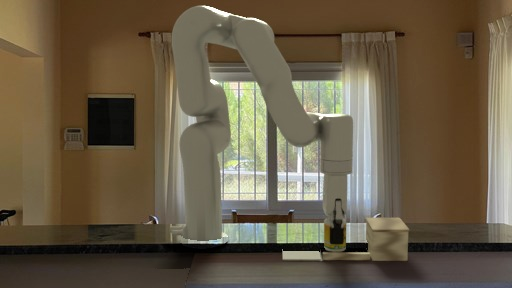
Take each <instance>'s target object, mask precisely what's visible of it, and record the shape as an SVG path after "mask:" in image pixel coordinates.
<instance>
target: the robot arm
mask: <svg viewBox="0 0 512 288" xmlns="http://www.w3.org/2000/svg"><path fill="white" fill-rule="evenodd" d="M206 43H207V44H214V45H219V46H223V47H227V48H230V49H234V50H237V52H238V54H239V55H240V57H241V58H242V60H243V62H244V63H245V65H246V67H247V68H248V70H249V72H250V73H251V75H252V77H253V79H254V80H255V81H256V83H257V85H258V87H259V89H260V94H261V96H262V97H263V101H264V104H265V106H266V108H267V111H268V113H269V116H271V119H272V120H273V122H274V123H275V125H276V127H277V129H278V130H279V132H280V134H281V135H282V136H283V138H284V140H286V142H287V143H289V144H290V145H291V146H293V147H296V148H305V147H307V146H310V145H311V144H313V143H315V142H320V155H319V157H320V160H319V161H320V167H319V168H320V170H319V172H320V173H321V174H323V181H322V182H323V184H322V185H323V187H322V188H323V189H322V209H323V213H324V215H325V216H327V217H328V215H331V227H330V244H343V243H344V227H343V218H344V217H345V216H347V211H348V184H349V183H348V175H351V174H353V157H354V156H353V153H354V151H353V149H354V148H353V147H354V120H353V117H352V115H350V114H347V113H345V114H344V113H329V114H328V113H327V114H326V113H325V114H323V113H317V112H311V111H310V112H308V111H306V110H305V108H304V106H303V104H302V103H301V101H300V99H299V98H298V96H297V94H296V91H295V89H294V85H293V81H292V80H293V77H292V76H293V75H292V71H291V69H290V67H289V65H288V63H287V61H286V59H285V58H284V56H283V55H282V53H281V51H280V49H279V47H278V46H277V45H276V43H275V34H274V31H273V28H272V27H271V26H270V25H269V24H268V23H267V22H265V21H263V20H260V19H257V18H254V17H247V18H246V17H243V16H239V15H234V14H232V13H228V12H225V11H222V10H219V9H216V8H214V7H210V6H206V5H196V6H192V7H190V8H188V9H186V10H185V11H183V13H181V14H180V15H179V17H178V18H177V19H176V21H175V23H174V25H173V28H172V31H171V49H172V55H173V62H174V69H175V70H174V72H175V78H176V87H177V95H178V103H179V106H180V109H181V111H182V112H183V113H184V114H185V115H187V116H189V117H192V118H195V119H196V122H194V123H191V124H190V125H188V126H187V127H186V128H185V129H183V131H182V132H181V135H180V138H179V151H180V152H179V154H180V158H181V162H182V170H183V172H182V173H183V189H184V191H183V192H184V194H183V195H184V215H185V216H184V217H185V224H182V225H181V226H177V225H170V226H169V234H171V235H172V236H181V237H182V236H183V238H185V239H190V240H197V241H209V240H217V239H221V238H222V237H228V238H229V236H228V234H227V233H226V232H223V211H222V205H223V204H222V177H221V168H220V167H221V166H220V162H219V157H218V154H220V153H223V152H224V151H225V150H226V149H228V146H229V145H230V143H231V138H232V133H231V132H232V131H231V122H230V114H229V106H228V105H229V104H228V97H227V93H226V91H225V89H224V87H223V86H222V85H221V84H220V83H219V82H218V81H216V80H214V79H211V73H210V72H211V71H210V62H209V58H208V55H207V52H206V49H205V46H206ZM333 212H336V215H333ZM334 217H336V219H334Z"/></svg>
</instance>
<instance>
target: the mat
mask: <svg viewBox="0 0 512 288" xmlns="http://www.w3.org/2000/svg"><path fill="white" fill-rule="evenodd" d="M320 252H321V251H320ZM320 252H319V251H283V250H282V261H319V260H321V257H320Z"/></svg>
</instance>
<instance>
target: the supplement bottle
mask: <svg viewBox="0 0 512 288" xmlns="http://www.w3.org/2000/svg"><path fill="white" fill-rule="evenodd" d="M333 215H336V212H333ZM334 219H336V217H334ZM330 227H331V215H328V216H327V217H326V218H325V219H324V220H323V242H324V248H325V250H326V251H327V252H345V250H347V249H346V242H347V219H346V218H345V217H343V227H344V243H343V244H330Z"/></svg>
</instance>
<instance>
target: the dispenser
mask: <svg viewBox="0 0 512 288" xmlns="http://www.w3.org/2000/svg"><path fill="white" fill-rule="evenodd" d="M364 220H365V222H366V223H365V224H366V225H365V229H366V230H365V241H366V240H367V242H368V250H367V252H364V251H363V252H361V251H360V252H358V251H355V252H353V251H352V252H350V251H349V252H345V251H342V252H331V251H322V253H321V251H320V257H321V260H318V261H319V262H323V261H371V260H372V261H377V262H378V261H379V262H383V261H384V262H385V261H386V262H390V261H391V262H392V261H393V262H396V261H398V262H401V261H402V262H406V261H408V255H409V254H408V253H409V250H408V249H409V248H408V247H409V232H410V228H409V227H408V226H407V224H406V223H405V222H404V221H403V220H402V219H401V218H400V217H365V218H364Z"/></svg>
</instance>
